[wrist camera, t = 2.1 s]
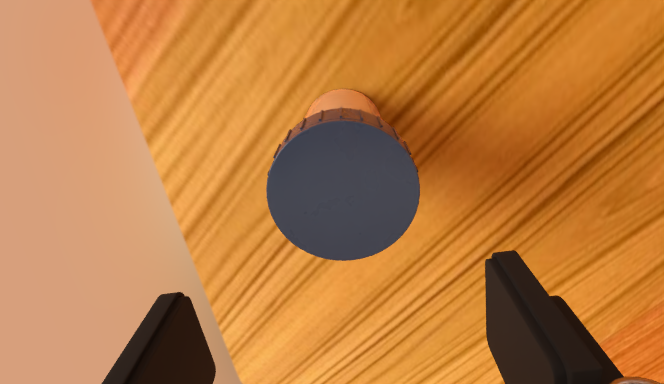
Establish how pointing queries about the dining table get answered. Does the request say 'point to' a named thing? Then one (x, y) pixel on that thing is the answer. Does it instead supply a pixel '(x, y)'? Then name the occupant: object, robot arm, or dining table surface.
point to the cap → (343, 185)
